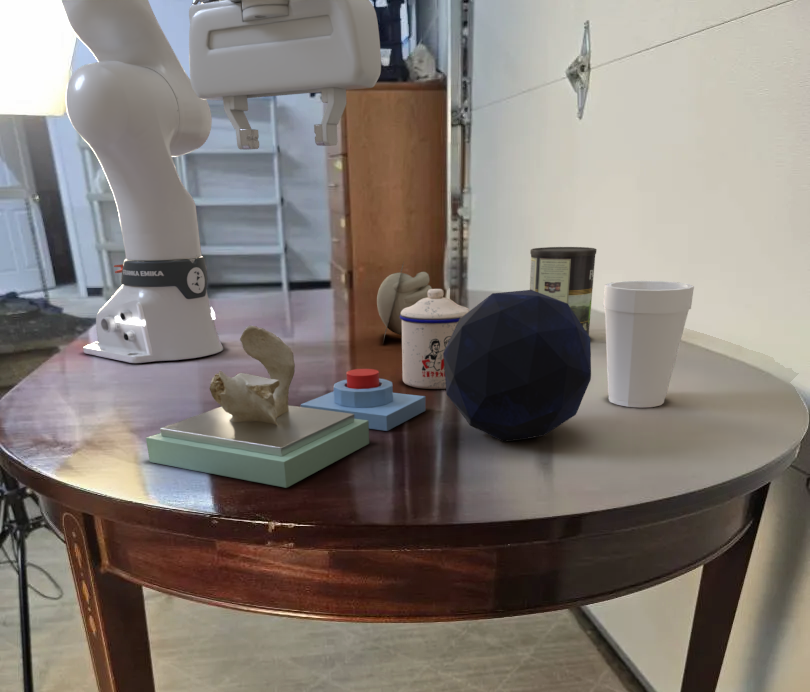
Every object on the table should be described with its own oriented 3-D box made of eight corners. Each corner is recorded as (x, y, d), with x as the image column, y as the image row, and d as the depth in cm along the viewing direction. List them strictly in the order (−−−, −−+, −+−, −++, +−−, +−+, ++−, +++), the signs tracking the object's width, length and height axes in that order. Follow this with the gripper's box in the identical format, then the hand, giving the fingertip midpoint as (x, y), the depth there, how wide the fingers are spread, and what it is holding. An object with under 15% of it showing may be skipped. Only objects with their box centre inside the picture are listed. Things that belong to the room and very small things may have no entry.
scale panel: (301, 419, 86) (299, 388, 85) (344, 400, 93) (343, 371, 92) (387, 431, 81) (386, 398, 80) (425, 410, 88) (425, 380, 87)
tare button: (341, 389, 85) (340, 373, 85) (357, 382, 88) (357, 367, 87) (369, 392, 84) (368, 376, 83) (385, 385, 87) (384, 370, 86)
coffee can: (582, 333, 133) (589, 245, 127) (594, 344, 123) (603, 250, 118) (522, 334, 133) (526, 246, 127) (530, 345, 124) (535, 251, 118)
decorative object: (425, 345, 136) (426, 357, 126) (368, 329, 135) (365, 340, 125) (446, 272, 130) (449, 278, 121) (387, 254, 129) (385, 260, 120)
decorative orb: (490, 357, 89) (456, 253, 77) (620, 370, 82) (604, 257, 70) (444, 457, 83) (399, 362, 71) (578, 479, 76) (553, 378, 64)
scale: (149, 462, 73) (144, 429, 72) (243, 424, 84) (240, 395, 83) (286, 488, 66) (283, 452, 65) (369, 443, 77) (368, 412, 76)
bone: (230, 422, 68) (206, 314, 68) (212, 443, 73) (190, 343, 74) (319, 414, 72) (296, 313, 73) (295, 435, 77) (274, 340, 78)
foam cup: (679, 394, 94) (694, 281, 88) (677, 413, 86) (693, 291, 80) (599, 389, 96) (609, 280, 91) (590, 407, 89) (600, 289, 83)
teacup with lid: (423, 393, 96) (422, 296, 91) (388, 379, 103) (386, 288, 98) (502, 381, 101) (505, 288, 96) (463, 369, 108) (465, 282, 103)
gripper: (164, -15, 72) (184, 150, 78) (349, -47, 64) (356, 142, 69) (209, -2, 77) (225, 152, 83) (387, -31, 69) (391, 144, 74)
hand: (286, 147), depth 76 cm, fingers open, 8 cm apart
